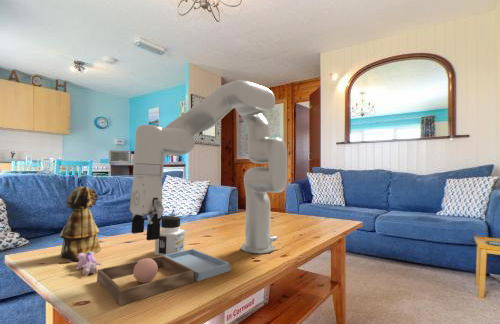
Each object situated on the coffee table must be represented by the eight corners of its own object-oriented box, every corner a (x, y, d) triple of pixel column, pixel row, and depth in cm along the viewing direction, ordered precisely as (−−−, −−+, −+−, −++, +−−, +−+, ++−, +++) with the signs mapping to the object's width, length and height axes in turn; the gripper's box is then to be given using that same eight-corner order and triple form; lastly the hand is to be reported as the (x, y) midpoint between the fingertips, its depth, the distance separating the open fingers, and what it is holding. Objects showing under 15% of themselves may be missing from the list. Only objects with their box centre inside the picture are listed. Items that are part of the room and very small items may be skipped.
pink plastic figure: (103, 278, 74) (95, 256, 86) (105, 258, 74) (96, 239, 85) (77, 284, 70) (72, 260, 82) (78, 263, 70) (73, 242, 81)
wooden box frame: (162, 265, 82) (163, 255, 82) (193, 282, 69) (193, 270, 70) (96, 281, 69) (97, 269, 69) (120, 305, 57) (120, 291, 57)
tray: (192, 255, 92) (193, 248, 92) (230, 270, 78) (230, 263, 78) (162, 262, 84) (163, 255, 84) (198, 281, 70) (198, 272, 70)
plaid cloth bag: (35, 258, 83) (59, 181, 85) (63, 247, 96) (83, 181, 98) (80, 268, 83) (102, 192, 85) (101, 256, 97) (120, 190, 99)
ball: (151, 275, 73) (152, 253, 74) (161, 282, 69) (162, 259, 69) (129, 281, 69) (130, 258, 69) (138, 288, 65) (139, 264, 65)
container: (174, 256, 90) (175, 218, 91) (154, 255, 92) (155, 217, 92) (184, 250, 98) (185, 215, 98) (165, 248, 99) (166, 214, 100)
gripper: (122, 170, 74) (118, 232, 73) (148, 171, 62) (144, 245, 61) (148, 171, 79) (145, 229, 78) (177, 172, 67) (174, 240, 66)
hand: (144, 236), depth 69 cm, fingers open, 9 cm apart
